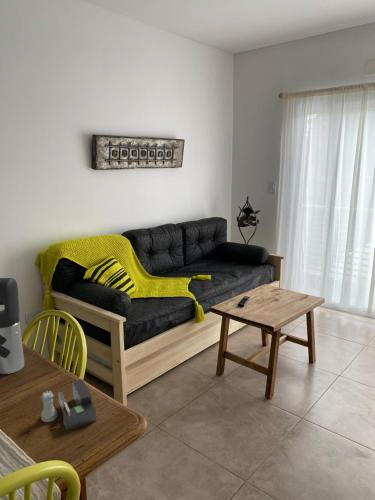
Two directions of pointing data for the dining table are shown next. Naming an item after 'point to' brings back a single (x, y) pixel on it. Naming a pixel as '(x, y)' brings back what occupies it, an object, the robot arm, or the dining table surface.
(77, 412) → the gauge frame
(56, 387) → the dining table surface
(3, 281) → the robot arm
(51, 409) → the rook chess piece
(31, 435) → the dining table surface
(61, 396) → the gauge plate
